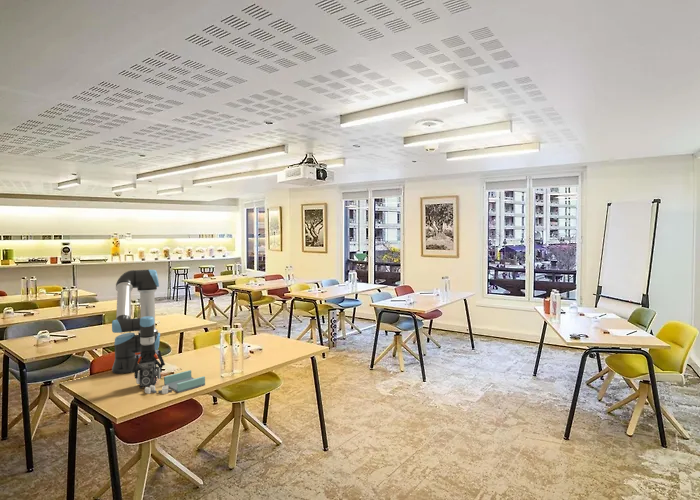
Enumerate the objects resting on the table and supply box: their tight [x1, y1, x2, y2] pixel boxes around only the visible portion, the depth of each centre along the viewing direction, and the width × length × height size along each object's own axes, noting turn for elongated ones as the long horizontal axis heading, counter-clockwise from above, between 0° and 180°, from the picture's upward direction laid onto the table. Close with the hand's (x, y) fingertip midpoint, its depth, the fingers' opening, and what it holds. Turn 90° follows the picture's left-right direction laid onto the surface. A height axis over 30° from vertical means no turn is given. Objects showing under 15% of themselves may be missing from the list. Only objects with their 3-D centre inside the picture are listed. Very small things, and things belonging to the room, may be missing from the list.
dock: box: [163, 369, 206, 394], centre depth 247 cm, size 18×16×5 cm
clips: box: [144, 385, 170, 395], centre depth 236 cm, size 13×5×3 cm, turn 87°
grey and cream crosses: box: [143, 388, 173, 394], centre depth 236 cm, size 16×4×1 cm, turn 87°
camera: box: [138, 359, 158, 389], centre depth 245 cm, size 10×10×15 cm
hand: (148, 380), depth 245 cm, fingers closed on camera, 11 cm apart
